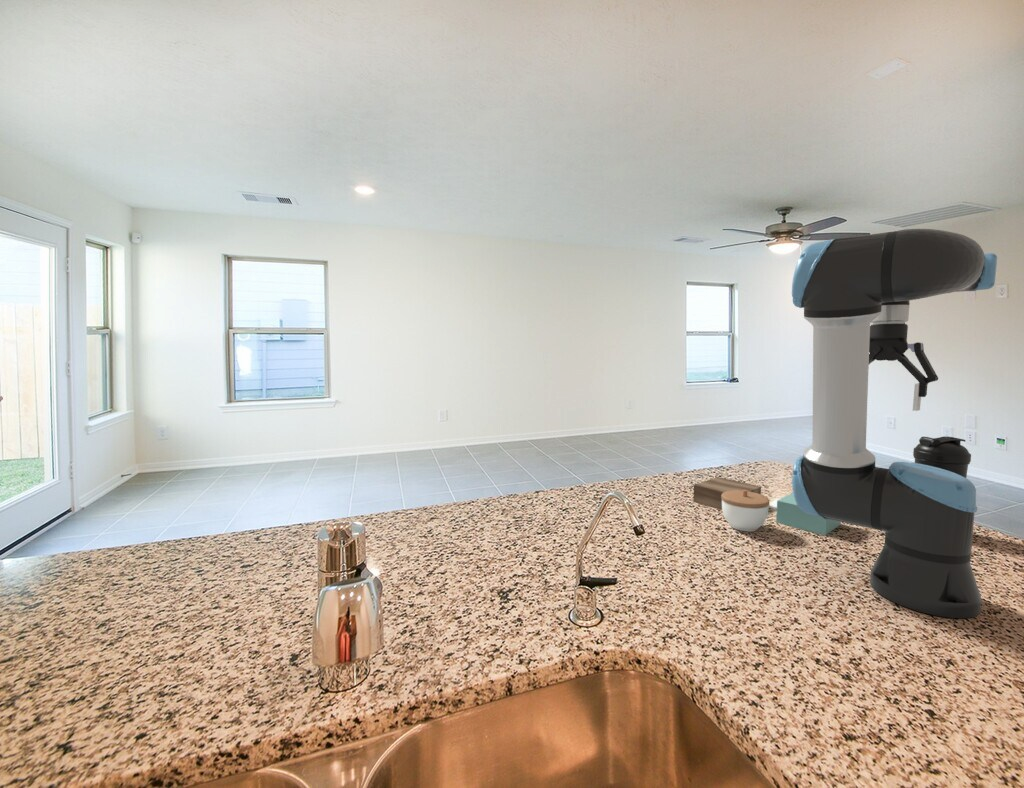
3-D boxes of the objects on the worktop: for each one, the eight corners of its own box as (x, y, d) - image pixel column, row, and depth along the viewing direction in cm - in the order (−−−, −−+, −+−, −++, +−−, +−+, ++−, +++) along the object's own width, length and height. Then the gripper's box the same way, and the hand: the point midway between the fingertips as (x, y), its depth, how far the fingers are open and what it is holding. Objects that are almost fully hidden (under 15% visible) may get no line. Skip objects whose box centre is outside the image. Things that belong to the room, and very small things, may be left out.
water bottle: (976, 539, 110) (985, 442, 107) (931, 539, 110) (939, 442, 107) (937, 523, 120) (945, 433, 117) (896, 523, 120) (903, 433, 118)
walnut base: (737, 513, 127) (738, 495, 127) (693, 501, 138) (693, 484, 137) (760, 503, 135) (761, 486, 135) (717, 492, 146) (717, 476, 145)
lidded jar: (757, 519, 123) (758, 484, 122) (775, 536, 113) (777, 497, 112) (714, 518, 124) (715, 483, 123) (729, 534, 114) (730, 496, 113)
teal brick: (825, 536, 113) (826, 512, 112) (776, 523, 121) (777, 500, 121) (840, 525, 120) (842, 502, 119) (793, 513, 128) (794, 491, 128)
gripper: (959, 321, 111) (951, 411, 113) (838, 326, 131) (832, 402, 133) (951, 320, 107) (942, 413, 109) (826, 325, 127) (821, 403, 129)
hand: (882, 407), depth 121 cm, fingers open, 13 cm apart
